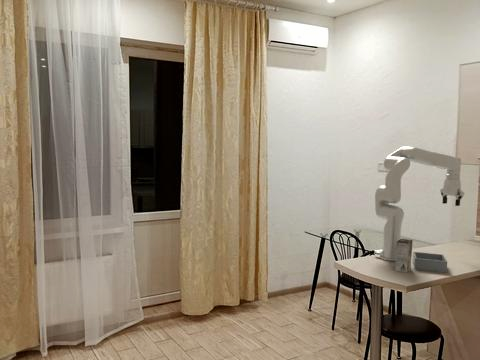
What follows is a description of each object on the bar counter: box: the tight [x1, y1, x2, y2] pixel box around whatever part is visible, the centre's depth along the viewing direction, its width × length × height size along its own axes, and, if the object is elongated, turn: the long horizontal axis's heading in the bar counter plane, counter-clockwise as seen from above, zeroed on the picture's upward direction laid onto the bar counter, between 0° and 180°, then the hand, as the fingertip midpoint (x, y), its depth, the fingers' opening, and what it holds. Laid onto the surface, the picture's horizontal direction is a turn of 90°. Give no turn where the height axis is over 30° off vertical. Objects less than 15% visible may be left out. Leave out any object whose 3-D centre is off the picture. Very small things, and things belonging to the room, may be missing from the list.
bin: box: [411, 251, 448, 274], centre depth 245 cm, size 16×16×6 cm
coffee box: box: [395, 238, 414, 273], centre depth 237 cm, size 9×6×16 cm
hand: (450, 204), depth 275 cm, fingers open, 9 cm apart
